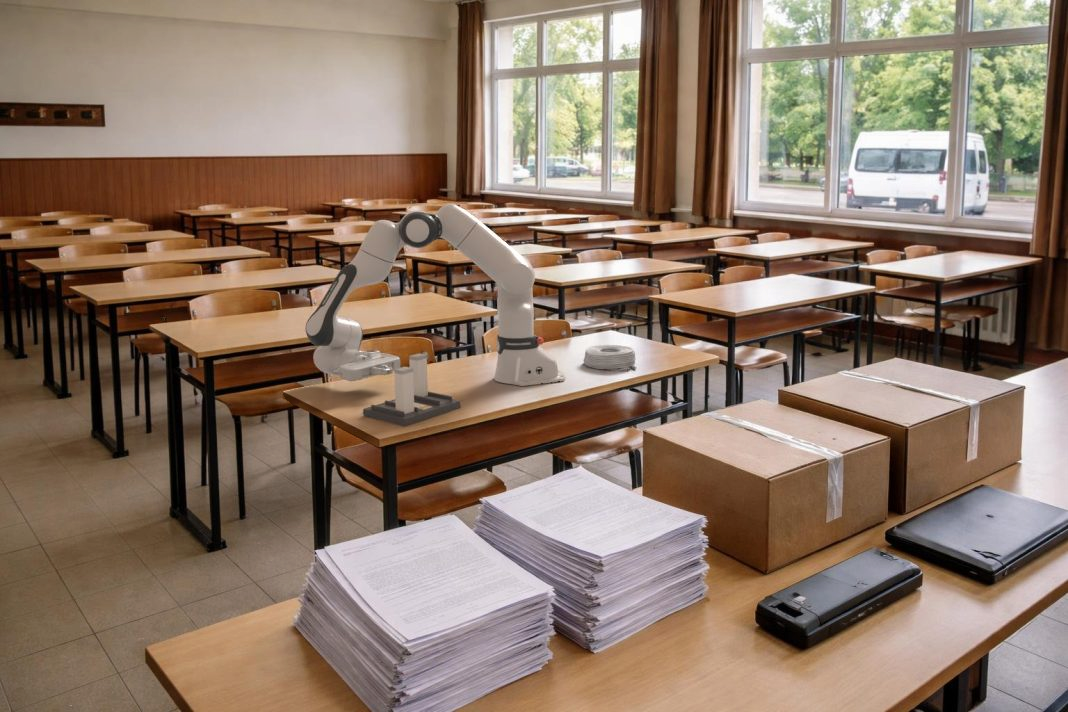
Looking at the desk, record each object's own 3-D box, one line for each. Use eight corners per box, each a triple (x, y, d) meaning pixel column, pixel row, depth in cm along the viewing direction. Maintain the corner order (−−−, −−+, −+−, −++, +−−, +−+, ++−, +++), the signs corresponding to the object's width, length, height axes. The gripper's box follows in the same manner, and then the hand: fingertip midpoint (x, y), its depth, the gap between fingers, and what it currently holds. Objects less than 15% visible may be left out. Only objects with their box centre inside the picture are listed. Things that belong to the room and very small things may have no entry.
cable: (637, 372, 305) (638, 354, 304) (584, 372, 305) (584, 354, 304) (633, 360, 322) (633, 342, 321) (582, 359, 322) (582, 342, 321)
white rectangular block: (395, 412, 251) (394, 369, 248) (406, 409, 254) (404, 366, 251) (403, 414, 249) (402, 370, 246) (414, 411, 252) (413, 368, 249)
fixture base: (363, 415, 256) (363, 404, 255) (418, 398, 273) (418, 388, 272) (405, 426, 246) (405, 414, 246) (460, 407, 264) (460, 396, 263)
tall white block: (410, 396, 266) (409, 355, 264) (420, 393, 269) (419, 353, 267) (418, 398, 265) (417, 357, 262) (427, 395, 268) (426, 354, 265)
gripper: (329, 361, 272) (362, 367, 264) (380, 349, 288) (412, 355, 280) (330, 382, 273) (363, 389, 265) (380, 368, 289) (413, 375, 281)
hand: (389, 371), depth 272 cm, fingers closed
